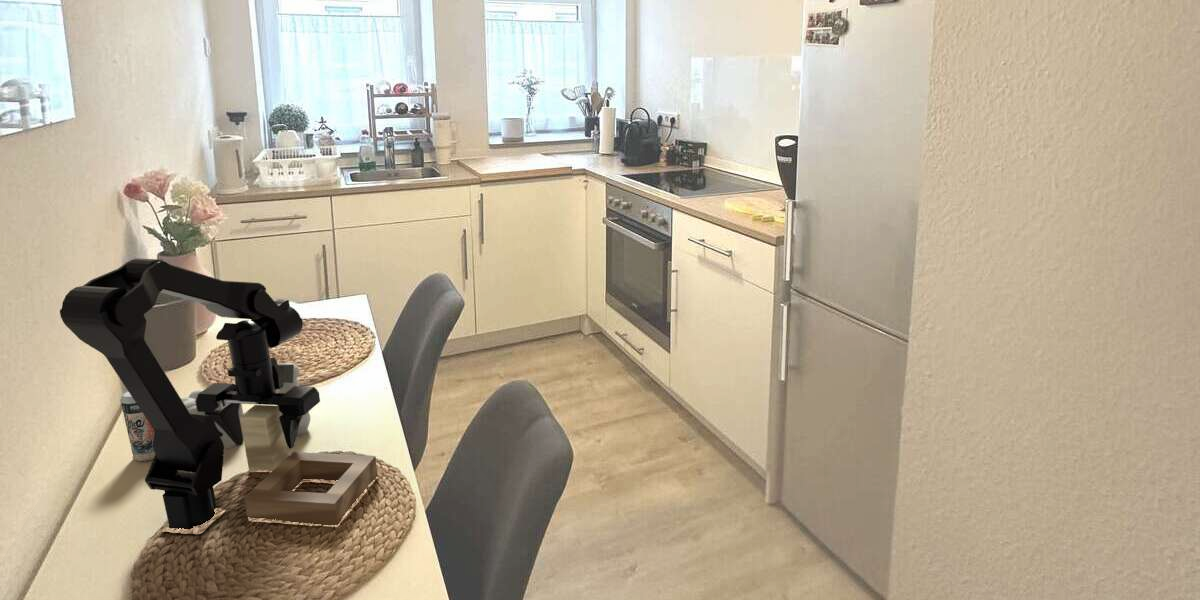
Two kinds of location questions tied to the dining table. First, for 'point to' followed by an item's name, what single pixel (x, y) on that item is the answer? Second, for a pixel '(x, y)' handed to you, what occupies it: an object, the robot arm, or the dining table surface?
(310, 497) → the socket block
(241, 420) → the birch peg
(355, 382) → the dining table surface
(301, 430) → the salt shaker
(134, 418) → the beer can
